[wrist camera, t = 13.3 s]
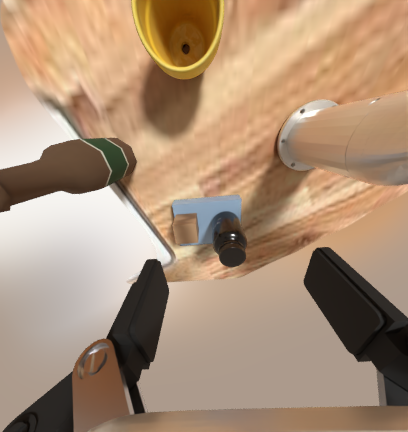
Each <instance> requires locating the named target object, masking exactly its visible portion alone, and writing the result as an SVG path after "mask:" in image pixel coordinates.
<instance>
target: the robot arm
mask: <svg viewBox="0 0 408 432" xmlns="http://www.w3.org/2000/svg"><path fill="white" fill-rule="evenodd" d="M300 111H301V113H300ZM281 141H282V143H281ZM277 150H278V155H279V157H280V160H281V161H282V162H283V164H285V165H286V166H287V167H289V168H291V169H294V170H298V171H305V170H310V169H313V168H318V169H322V170H325V171H328V172H332V173H335V174H338V175H341V176H345V177H348V178H351V179H355V180H359V181H362V182H365V183H369V184H373V185H379V186H399V185H405V184H408V90H405V91H402V92H397V93H393V94H388V95H383V96H379V97H374V98H370V99H365V100H360V101H356V102H351V103H347V104H342V105H338V104H336V103H335V102H333V101H330V100H315V101H311V102H309V103H306V104H304V105H302V106H300V107H299V108H298V109H296V110H295V111H294V112H293V113H292V114H291V115H290V116H289V117H288V118H287V120H286V121H285V123H284V124H283V126H282V128H281V130H280V133H279V136H278V142H277ZM291 164H292V165H291ZM304 285H305V287H306V289H307V290H308V292H309V293H310V295H311V296H312V298H313V299H314V301H315V302H316V304H317V305H318V307H319V308H320V310H321V311H322V313H323V314H324V316H325V317H326V319H327V320H328V321H329V323H330V325H331V326H332V328H333V329H334V331H335V332H336V334H337V335H338V337H339V338H340V340H341V341H342V343H343V344H344V346H345V347H346V349H347V350H348V351H349V352H350V353H351V354H353V355H354V356H355V358H356V359H357V361H358V362H364V361H372V363H373V364H374V365H375V367H376V370H377V381H378V392H379V405H380V406H359V407H358V406H356V407H307V408H265V409H264V408H262V409H224V410H192V411H191V410H189V411H169V412H150V413H148V411H147V407H146V404H145V401H144V398H143V395H142V392H141V388H140V385H139V382H138V381H139V378H140V375H141V371H142V369H149V366H150V362H153V361H154V358H155V354H156V349H157V345H158V340H159V336H160V331H161V327H162V322H163V318H164V313H165V309H166V304H167V300H168V295H169V288H168V285H167V281H166V278H165V275H164V272H163V269H162V265H161V262H160V261H158V260H157V259H149V260H147V261H146V262H145V264H144V266H143V269H142V271H141V273H140V275H139V277H138V280H137V282H135V283H133V284H132V286H131V288H130V290H129V292H128V294H127V296H126V298H125V300H124V302H123V305H122V307H121V309H120V311H119V313H118V315H117V317H116V319H115V321H114V323H113V325H112V327H111V329H110V332H109V334H108V336H107V338H106V339H100V340H97V341H95V342H94V343H92V344H91V345H90V346H88V347H87V348H86V349H85V350H84V351H83V353H82V354H81V355H80V357H79V358H78V360H77V361H76V363H75V366H74V369H73V371H72V372H71V373H70V374H69V375H68V376H66V377H65V378H64V379H63V380H61V381H60V382H59V383H58V384H57V385H55V386H54V387H53V388H52V389H50V390H49V391H48V392H47V393H46V394H44V396H42V397H41V398H39V399H38V400H37V401H36V402H35V403H33V404H32V405H31V406H30V407H28V408H27V409H26V410H25V411H24V412H22V413H21V414H20V415H19V416H17V418H15V419H14V420H13V421H12V422H11V423H10V424H9V425H8V426H7V427H6V428H5V429H4V430H3V432H408V318H407V317H406V316H405V315H404V314H403V313H402V312H401V311H400V310H398V309H397V308H396V307H395V306H394V305H393V304H392V303H391V302H389V300H387V299H386V298H385V297H384V296H383V295H382V294H381V293H380V292H378V291H377V290H376V289H375V288H374V287H373V286H372V285H371V284H370V283H369V282H367V281H366V280H365V279H364V278H363V277H362V276H361V275H360V274H358V273H357V272H356V271H355V270H354V269H353V268H352V267H350V265H349V264H347V263H346V262H345V261H344V260H343V259H342V258H341V257H340V256H338V255H337V254H336V253H335V252H334V251H333V250H332V249H331V248H329V247H322V248H316V249H315V251H313V253H312V256H311V259H310V263H309V266H308V269H307V272H306V275H305V278H304Z"/></svg>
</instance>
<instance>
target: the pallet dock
mask: <svg viewBox="0 0 408 432" xmlns="http://www.w3.org/2000/svg"><path fill="white" fill-rule="evenodd" d="M172 208H173V213H174V217H175V216H176V214H189V213H197V219H198V227H199V239H198V243H188V244H180V246H184V245H198V244H212V243H213V241H212V220H213V218H214V217H215V215H217V214H218V213H220V212H223V211H229V212H232V213H234V214H236V215H237V216H238V218H239V220H240V223H241V198H240V196H239V195H229V196H218V197H206V198H195V199H183V200H174V202H173V204H172Z"/></svg>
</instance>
